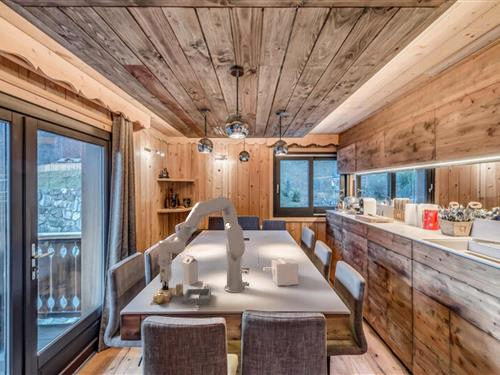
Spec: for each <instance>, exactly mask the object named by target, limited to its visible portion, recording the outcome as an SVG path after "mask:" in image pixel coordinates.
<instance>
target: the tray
mask: <svg viewBox="0 0 500 375" xmlns="http://www.w3.org/2000/svg"><path fill="white" fill-rule="evenodd" d="M190 294H191V295H192V294H199V295H198V297H193V298H189V295H190ZM211 296H212V287H209V288H208V287H207V288H188V289H186V291H185V294H184V295H183V297H182V304H183V305H187V304H189V305H191V304H192V305H193V304H196V305H198V306H210V302H211V301H210V300H211V298H210V297H211Z"/></svg>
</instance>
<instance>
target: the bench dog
mask: <svg viewBox="0 0 500 375" xmlns="http://www.w3.org/2000/svg"><path fill="white" fill-rule="evenodd" d="M163 303H164V293H157V304H158V305H157V306H161V305H160V304H163Z"/></svg>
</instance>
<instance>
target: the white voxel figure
mask: <svg viewBox="0 0 500 375" xmlns="http://www.w3.org/2000/svg"><path fill="white" fill-rule="evenodd" d="M262 271H263V272H271V280H272V281H273V283H275V285H276V286H286V287H289V286H291V285H299V263H298V262H296V261H295V260H294V259H292V258H283V257H282V258H281V257H280V258H278V259H272V260H271V266H263V270H262Z"/></svg>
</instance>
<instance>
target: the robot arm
mask: <svg viewBox="0 0 500 375" xmlns="http://www.w3.org/2000/svg"><path fill="white" fill-rule="evenodd" d="M216 213H221V214H222V218H223V224H224V232H225V234H226V236H227V242H226V245H225V252H226V285H224V286H223V287H224V290H225V291H226V292H228V293H234V294H235V293H240V292H243V291H244V290H245V287H250V282H248V281H243V256H244V254H245V250H246V247H245V239H244V238H245V237H244V230H243V228H242V226H241V225H240V224H239V220H238V214H237V210H236V208H235V205H234V204H233V202H232V201H231V200H230V199H228V198H227V197H225V196H222V195H216V196H214V198H211V199H207V200H203V201H201V200H199V201H198V202H196V203H195V204H194V206H193V208H191V210H190V212H189V214H188V216H187V217H186V219H185V221H184V223H183V224H182V226H181V228H180V229H179V231H178V233H177V234H176V235H175V238H174V239H173V241H172V240H169V239H162V240H159V241H158V247H157V248H158V266H159V282H160V284H161V286H162V287H161V288H162V290H169V288H170V287H169V282H170V281H171V280H172V278H173V272H172V264H173V254H181V253H183V252H184V251H185V249H186V243H187V242H188V240H189V239H190V238H191V235H193V233H194V232H195V231H196V230H198V228H199V227H200V225H201V223H202V221H203V220H204V218H205V216H211V215H214V214H216Z"/></svg>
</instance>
